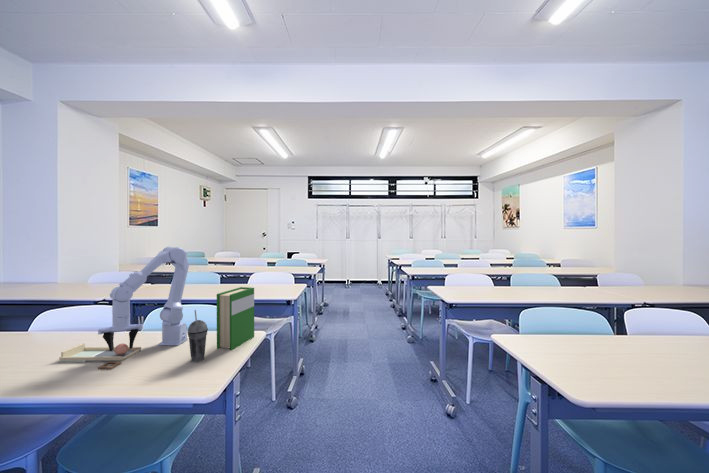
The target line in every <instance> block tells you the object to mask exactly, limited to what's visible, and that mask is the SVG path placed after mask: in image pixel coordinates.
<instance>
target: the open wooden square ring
mask: <svg viewBox="0 0 709 473" xmlns="http://www.w3.org/2000/svg"><path fill="white" fill-rule="evenodd" d="M122 363H123V361H121V362H104V363H103V364H101V365H99V366H97V370H113V369H115V368H116V367H118V366H120V365H122ZM109 365H110V366H109Z"/></svg>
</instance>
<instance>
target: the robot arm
mask: <svg viewBox="0 0 709 473" xmlns="http://www.w3.org/2000/svg"><path fill="white" fill-rule="evenodd" d="M187 254H188V253H187V252H186V251H185V249H183V248H182V247H180V246H179V247H178V246H176V247H175V246H174V247H172V246H166V247H165V248H163V249H162V250H161V251H159V252H158V253H157V254H156V255H155V257H153V259H151V260H150V261H149V262H148V263H147V264H146V265H145V266H144V267H143V268H142V269H141V270H140V271H135V272H133V273H130V274H129V275H128V277H127V278H126V279H125V280H124V281H123V282H120V283H118V286H115V287H114V288H113V289H112V290H111V292H110V293H109V297H110V298H111V299H112V306H111V308H112V310H111V312H112V313H111V314H112V316H111V317H112V319H111V320H112V322H111V323H112V326H107V327H100V328H99V329H98V330H97V335H102V338H103V339H104V342H106V344H107V347H109V350H110V351H113V349H114V347H115V344H114V338H115V337H114V336H115V333H121V332H128V336H129V345H128V347H129V348H130V349H132V347H134V342H135V340H136V336H137V335H138V334H139V333H138V332H139V331H142V330H144V323H140V324H139V323H137V324H131V302H130V301H131V300H130V299H131V298H133V294H134V293H135V292H136V291H137V290H138V289H139V288H141V286H143V285H144V284H145V283H146V282H147V279H148V277H149V275H150V274H152V273H153V272H155V270H156V269H158V268H159V267H160V266H161V265H163V264H168V263H170V264H172V266H173V267H174V272H173V275H172V281H171V286H170V288H169V289H170V290H169V293H168V297H167V301H166V303H165V304H163V308H162V310H160V313H159V318H160V320H161V321H162V323H161V335H162V337H161V342H160V343H157V346H179V345H182V343H184V342H186V341H188V340H189V337H188V333H187V332H188V326H187V324H186V323H183V322H181V321H182V320H183V318H184V313H183V305H182V298H183V294H184V288H185V284H186V279H187V275H188V272H189V268H190V267H189V266H190V264H189V260H188V258H187Z"/></svg>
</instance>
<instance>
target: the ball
mask: <svg viewBox="0 0 709 473" xmlns="http://www.w3.org/2000/svg"><path fill="white" fill-rule="evenodd" d="M114 347H115V353H116V354H117V355H123V354H125V353H126V352H127V351H128V347H129V345H127V344H126V343H119V344H117V345H116V346H114Z"/></svg>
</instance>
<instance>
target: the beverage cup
mask: <svg viewBox="0 0 709 473" xmlns="http://www.w3.org/2000/svg"><path fill="white" fill-rule="evenodd" d="M194 317H195V320H194V321H192V322H191V323H190V324H189V326H188V327H187V338H188V341H189V353H190V359H191V360H190V361H191V362H193V363H197V362H202V361H203V360H204V359H205V355H206V354H205V353H206V346H207V335H208V330H209V329H208V325H207V323H206V322H205V321H203V320H201V319H198V317H197V310H196V309H195V310H194Z"/></svg>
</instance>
